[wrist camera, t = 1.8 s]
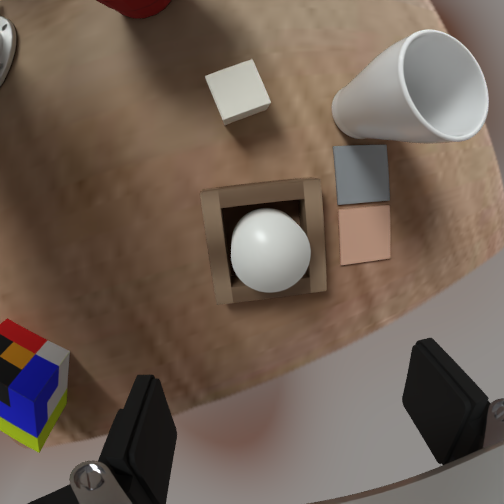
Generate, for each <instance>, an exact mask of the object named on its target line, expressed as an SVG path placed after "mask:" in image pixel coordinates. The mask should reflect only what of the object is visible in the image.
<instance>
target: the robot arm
mask: <svg viewBox="0 0 504 504" xmlns="http://www.w3.org/2000/svg"><path fill="white" fill-rule="evenodd" d="M15 47H16V31H15V27H14V25H13V23H12V22H11V21H10V20H9V19H6V18H5V17H2V16H0V86H1V85H2V83H3V81H4V79H5V77H6V75H7V73H8V71H9V68H10V66H11V63H12V60H13V57H14V53H15ZM402 402H403V405H404V407H405V409H406V411H407V412H408V414H409V415H410V417H411V419H412V420H413V422H414V424H415V425H416V427H417V428H418V430H419V432H420V434H421V435H422V437H423V438H424V440H425V442H426V444H427V445H428V447H429V449H430V450H431V452H432V454H433V455H434V457H435V459H436V461H437V462H438V463H439V464H443V466H440V467H438V468H435V469H433V470H430V471H428V472H425V473H422V474H419V475H417V476H414V477H411V478H408V479H405V480H402V481H399V482H396V483H393V484H389V485H386V486H383V487H379V488H376V489H372V490H368V491H364V492H361V493H357V494H352V495H348V496H344V497H340V498H335V499H330V500H325V501H320V502H314V503H308V504H504V398H501V399H497V400H495V401H493V402H492V403H490V402H489V401H488V397H487V396H486V395H485V393H484V392H483V391H482V390H481V389H480V388H479V387H478V386H477V385H476V384H475V382H473V380H472V379H471V378H470V377H469V376H468V375H467V374H466V373H465V372H464V371H463V370H462V369H461V368H460V366H458V364H457V363H456V362H455V361H454V360H453V359H452V358H451V357H450V356H449V355H448V354H447V353H446V352H445V351H444V350H443V349H442V348H441V347H440V346H439V345H438V344H437V343H436V342H435V341H434V340H433V339H432V338H427V339H423V340H419V341H417V342H416V345H414V346H413V348H412V352H411V358H410V363H409V369H408V374H407V379H406V383H405V388H404V393H403V397H402ZM176 439H177V431H176V427H175V424H174V421H173V418H172V416H171V413H170V410H169V407H168V404H167V401H166V398H165V395H164V392H163V388H162V385H161V382H160V380H159V379H155V377H154V375H137V377H136V379H135V382H134V384H133V387H132V389H131V391H130V394H129V396H128V399H127V401H126V404H125V406H124V409H120V410H118V412H117V414H116V417H115V419H114V421H113V424H112V426H111V429H110V431H109V434H108V437H107V439H106V442H105V444H104V447H103V449H102V452H101V455H100V457H99V460H98V461H86V462H82V463H80V464H79V465H77V466H76V467H75V468H74V469H73V470H72V472H71V474H70V479H69V480H70V485H67V486H65V487H63V488H61V489H59V490H57V491H55V492H52V493H50V494H48V495H46V496H44V497H41V498H39V499H36V500H34V501H32V502H30V503H28V504H166V498H167V492H168V486H169V480H170V474H171V468H172V462H173V456H174V450H175V445H176Z"/></svg>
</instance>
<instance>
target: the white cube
mask: <svg viewBox="0 0 504 504" xmlns="http://www.w3.org/2000/svg"><path fill="white" fill-rule="evenodd" d="M205 78H206V81H207V84H208V87H209V89H210V91H211V94H212V96H213V99H214V101H215V103H216V106H217V108H218V111H219V113H220V116H221V118H222V120H223V123H224V125H227V124H230V123H232V122H235V121H237V120H240V119H243V118H245V117H248V116H251V115H254V114H256V113H259V112H262V111H265V110H267V108H268V106H269V105H270V103H271V101H270V99H269V96H268V94H267V92H266V89H265V87H264V85H263V82H262V80H261V78H260V75H259V73H258V71H257V68H256V66H255V64H254V62H253V59H251V60H248V61H245V62H242V63H239V64H237V65H234V66H231V67H228V68H225V69H223V70H220V71H217V72H214V73H212V74H209V75H207V76H205Z"/></svg>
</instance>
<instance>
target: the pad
mask: <svg viewBox="0 0 504 504" xmlns="http://www.w3.org/2000/svg"><path fill="white" fill-rule="evenodd" d="M338 224H339V247H340V265H347V264H354V263H361V262H368V261H375V260H382V259H389V258H390V205H382V206H371V207H360V208H349V209H338Z"/></svg>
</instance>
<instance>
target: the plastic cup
mask: <svg viewBox="0 0 504 504" xmlns="http://www.w3.org/2000/svg"><path fill="white" fill-rule="evenodd" d="M96 1H98V2H100V3H102V4H104V5H106V6H107V7H109V8H112V9H115V10H116V11H118V12H119V13H121V14H123V15H125V16H128V17H131V18H147V17H150V16H153V15H156V14H157V13H159V12H160V11H162V10H163V9H165V8H166V6H167V5H168V4H169V3H170V1H171V0H96Z"/></svg>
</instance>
